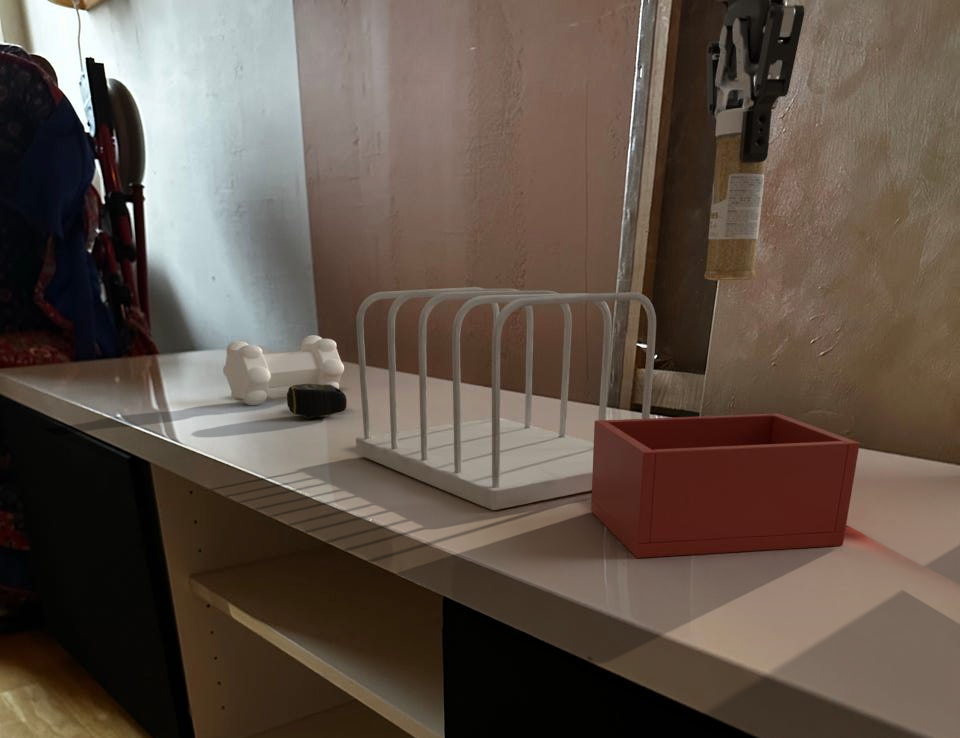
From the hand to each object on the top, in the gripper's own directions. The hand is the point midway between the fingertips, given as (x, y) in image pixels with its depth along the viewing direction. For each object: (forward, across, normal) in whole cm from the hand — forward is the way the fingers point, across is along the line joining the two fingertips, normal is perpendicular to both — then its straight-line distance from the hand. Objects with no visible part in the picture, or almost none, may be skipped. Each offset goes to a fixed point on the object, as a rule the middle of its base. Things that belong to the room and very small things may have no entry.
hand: (739, 164), depth 76 cm
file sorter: (+25, -2, +22) cm, 34 cm away
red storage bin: (+25, -24, +10) cm, 36 cm away
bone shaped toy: (+25, +46, +44) cm, 69 cm away
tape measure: (+25, +31, +39) cm, 56 cm away
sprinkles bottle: (+10, 0, 0) cm, 10 cm away
